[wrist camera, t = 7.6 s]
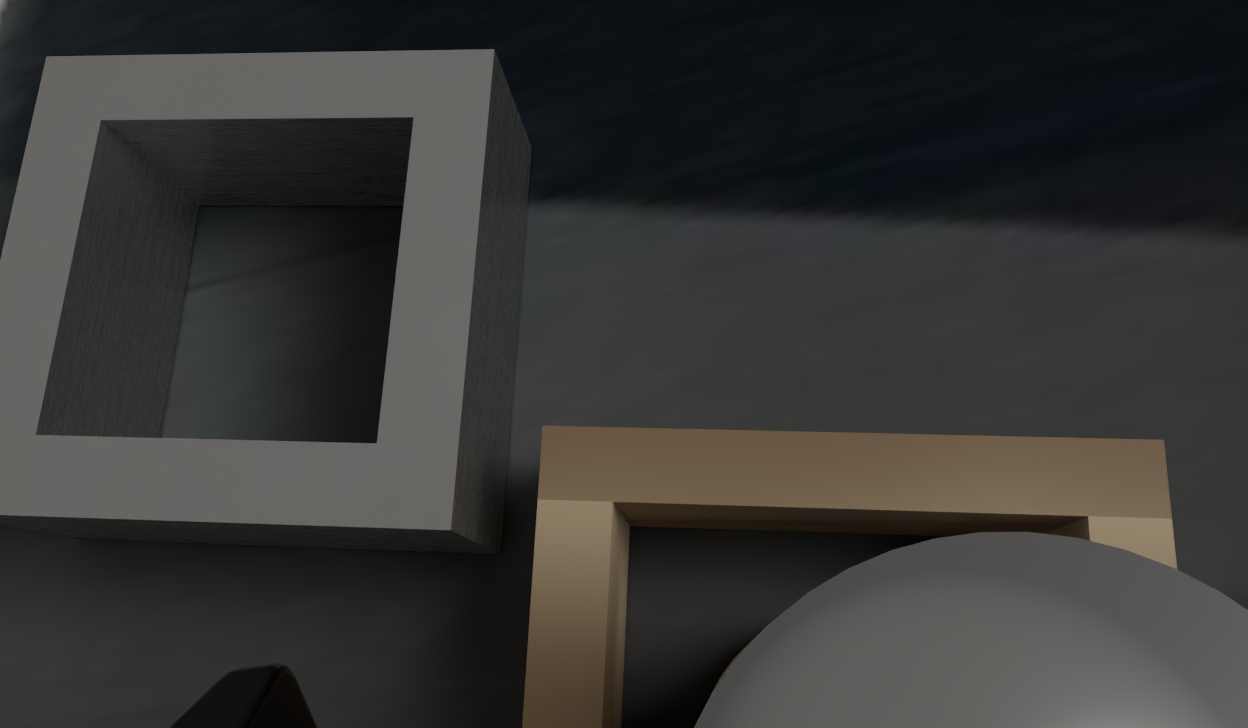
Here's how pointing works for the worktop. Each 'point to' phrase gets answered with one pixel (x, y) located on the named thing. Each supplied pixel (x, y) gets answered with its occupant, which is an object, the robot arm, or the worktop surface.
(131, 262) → the socket block
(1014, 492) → the wooden box
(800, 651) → the tin canister
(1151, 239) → the worktop surface
